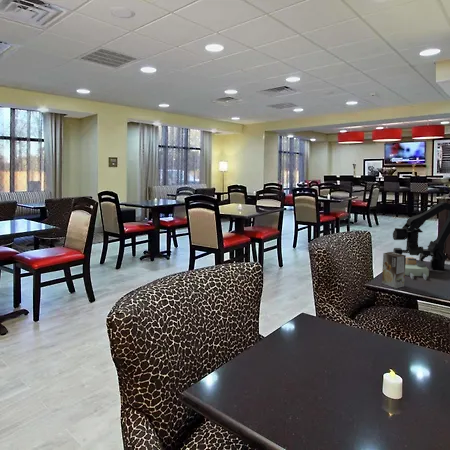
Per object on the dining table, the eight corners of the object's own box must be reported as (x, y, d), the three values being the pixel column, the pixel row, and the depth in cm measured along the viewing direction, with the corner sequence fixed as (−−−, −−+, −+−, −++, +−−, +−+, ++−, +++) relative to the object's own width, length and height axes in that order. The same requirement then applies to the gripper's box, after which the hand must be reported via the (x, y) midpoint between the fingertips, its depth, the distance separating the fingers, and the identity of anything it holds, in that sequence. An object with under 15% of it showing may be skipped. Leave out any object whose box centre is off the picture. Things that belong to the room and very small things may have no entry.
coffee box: (404, 286, 193) (406, 255, 191) (395, 288, 191) (397, 256, 188) (390, 281, 202) (391, 251, 199) (381, 283, 199) (382, 252, 196)
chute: (412, 267, 227) (413, 256, 226) (415, 270, 220) (416, 259, 219) (405, 267, 228) (406, 255, 227) (408, 270, 221) (408, 258, 220)
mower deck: (424, 271, 218) (425, 260, 217) (432, 280, 202) (433, 268, 201) (401, 270, 220) (401, 259, 219) (407, 279, 205) (407, 267, 204)
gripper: (397, 242, 216) (395, 269, 219) (434, 243, 212) (432, 271, 214) (393, 238, 227) (392, 264, 229) (428, 239, 222) (426, 265, 225)
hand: (410, 266), depth 224 cm, fingers open, 9 cm apart
